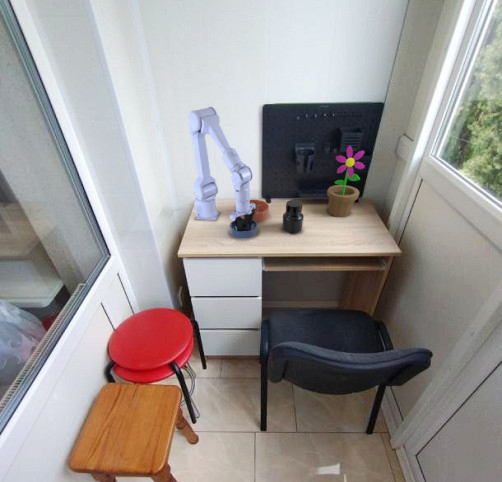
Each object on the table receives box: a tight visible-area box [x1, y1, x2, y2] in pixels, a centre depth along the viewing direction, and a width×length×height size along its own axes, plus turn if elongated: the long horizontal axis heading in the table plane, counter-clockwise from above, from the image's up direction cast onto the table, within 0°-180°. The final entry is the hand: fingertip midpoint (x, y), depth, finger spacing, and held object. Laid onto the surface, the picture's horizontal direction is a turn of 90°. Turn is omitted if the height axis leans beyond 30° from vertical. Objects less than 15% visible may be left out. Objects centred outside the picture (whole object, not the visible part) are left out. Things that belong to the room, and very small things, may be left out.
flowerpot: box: [326, 145, 366, 218], centre depth 127 cm, size 14×14×30 cm
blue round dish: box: [229, 218, 259, 239], centre depth 124 cm, size 12×12×4 cm
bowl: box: [241, 199, 270, 224], centre depth 134 cm, size 15×15×5 cm
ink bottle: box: [281, 199, 305, 234], centre depth 122 cm, size 10×9×12 cm
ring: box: [243, 223, 250, 231], centre depth 124 cm, size 5×5×3 cm
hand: (243, 229), depth 124 cm, fingers closed on ring, 5 cm apart
